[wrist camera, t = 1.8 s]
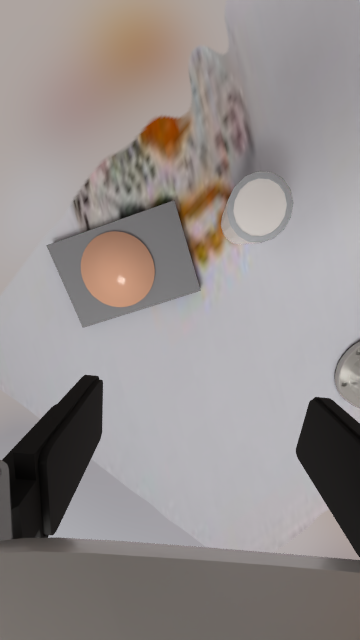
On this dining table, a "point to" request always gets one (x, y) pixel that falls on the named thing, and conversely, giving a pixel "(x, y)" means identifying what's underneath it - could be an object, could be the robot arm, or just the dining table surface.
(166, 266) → the board
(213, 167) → the dining table surface
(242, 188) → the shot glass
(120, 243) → the coaster
